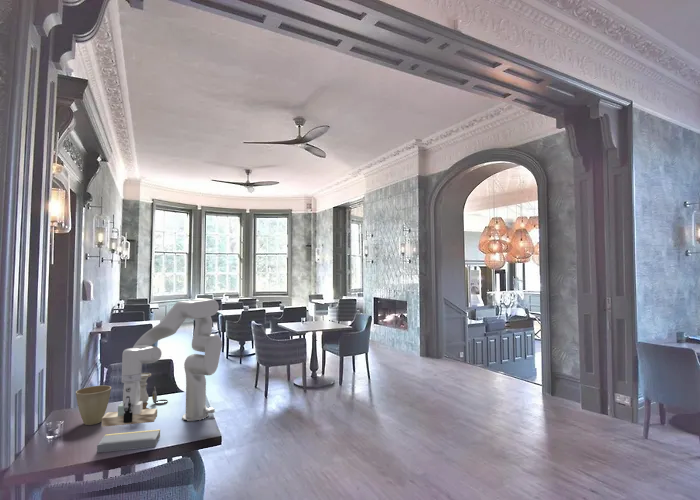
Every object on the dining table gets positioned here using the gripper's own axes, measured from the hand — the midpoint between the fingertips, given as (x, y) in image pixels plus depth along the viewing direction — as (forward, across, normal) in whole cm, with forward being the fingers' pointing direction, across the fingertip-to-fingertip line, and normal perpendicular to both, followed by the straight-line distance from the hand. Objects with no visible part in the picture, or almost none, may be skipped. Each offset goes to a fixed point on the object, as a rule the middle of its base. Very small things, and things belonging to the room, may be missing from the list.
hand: (130, 419), depth 177 cm
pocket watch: (+11, +55, -2) cm, 56 cm away
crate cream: (-3, 0, -2) cm, 3 cm away
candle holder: (+11, +39, +3) cm, 40 cm away
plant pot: (+11, +33, +24) cm, 42 cm away
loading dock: (+11, 0, 0) cm, 11 cm away
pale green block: (-3, 0, +2) cm, 3 cm away
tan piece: (+1, 0, 0) cm, 1 cm away
